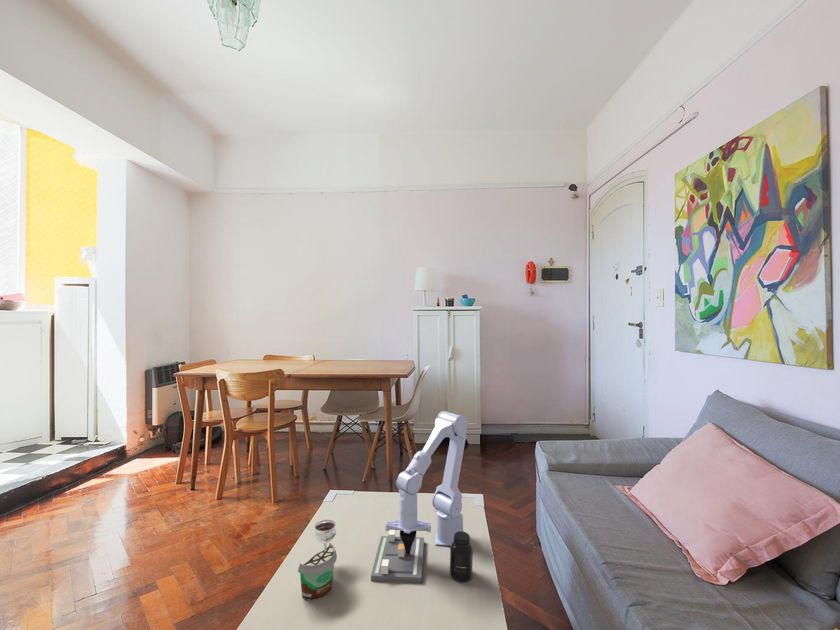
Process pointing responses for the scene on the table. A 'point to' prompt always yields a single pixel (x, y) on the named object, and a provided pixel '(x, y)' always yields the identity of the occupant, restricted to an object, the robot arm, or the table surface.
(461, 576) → the supplement bottle
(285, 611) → the table surface
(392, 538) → the block
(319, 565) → the food container
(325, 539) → the wineglass
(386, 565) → the block
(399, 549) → the block
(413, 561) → the panel
